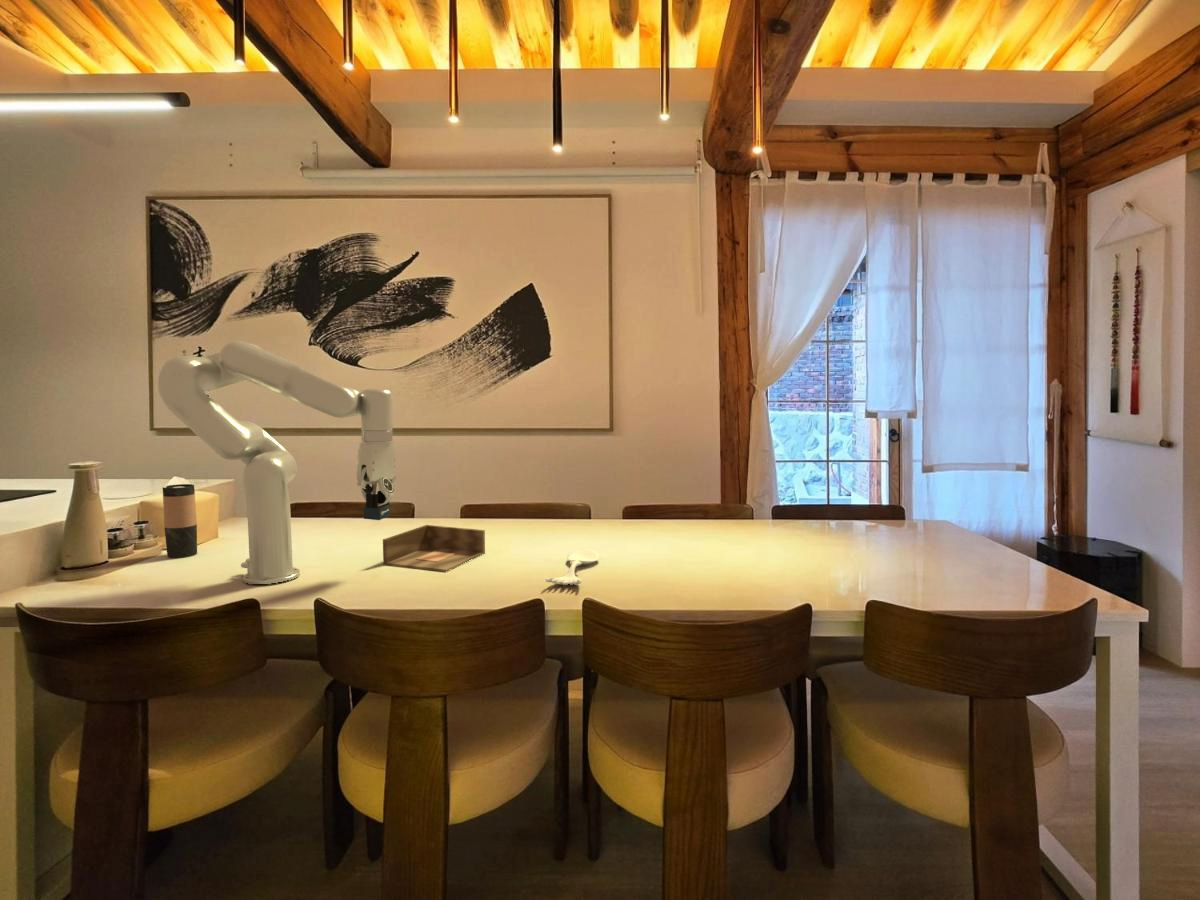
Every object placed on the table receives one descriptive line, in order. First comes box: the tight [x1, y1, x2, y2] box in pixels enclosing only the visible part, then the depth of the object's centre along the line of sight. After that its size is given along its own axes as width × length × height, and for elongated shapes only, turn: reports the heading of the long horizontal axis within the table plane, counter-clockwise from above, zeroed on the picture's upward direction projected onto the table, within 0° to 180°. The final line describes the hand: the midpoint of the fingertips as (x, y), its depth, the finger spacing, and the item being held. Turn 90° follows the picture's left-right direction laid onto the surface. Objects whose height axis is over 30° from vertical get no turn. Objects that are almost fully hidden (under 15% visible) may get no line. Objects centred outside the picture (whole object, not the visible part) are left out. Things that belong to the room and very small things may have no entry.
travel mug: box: [162, 483, 198, 559], centre depth 177 cm, size 8×8×20 cm
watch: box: [360, 478, 395, 521], centre depth 160 cm, size 6×8×11 cm
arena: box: [382, 524, 486, 572], centre depth 175 cm, size 20×20×7 cm
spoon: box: [545, 548, 601, 586], centre depth 163 cm, size 9×32×4 cm, turn 171°
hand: (377, 507), depth 160 cm, fingers closed on watch, 3 cm apart
